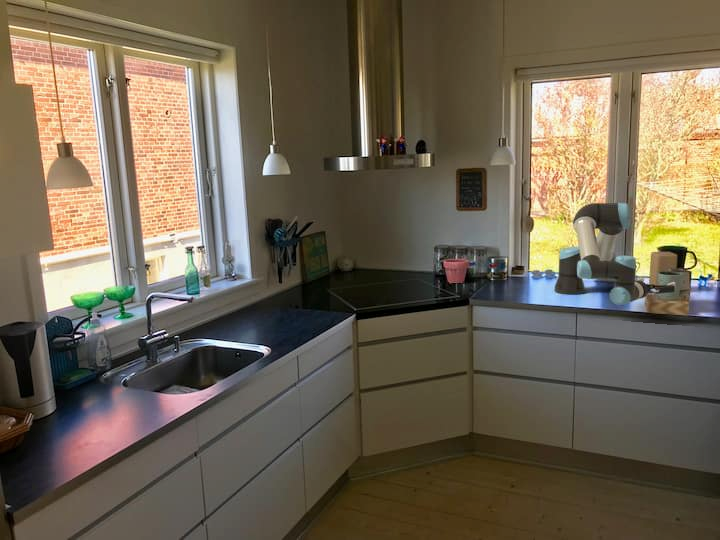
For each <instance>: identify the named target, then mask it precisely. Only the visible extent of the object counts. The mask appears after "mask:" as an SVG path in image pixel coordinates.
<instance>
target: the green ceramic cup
mask: <svg viewBox="0 0 720 540" xmlns="http://www.w3.org/2000/svg"><path fill="white" fill-rule="evenodd" d="M682 275H683V274H682V273H679V272H673V271H660V272H658V285H667V284H670V283H672V282H675V289H674V292H670V293H659V294H656V295H657V298H658V299H660V300H664V301H677V300H679V292H680V286H681V280H682Z"/></svg>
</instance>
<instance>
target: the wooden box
mask: <svg viewBox="0 0 720 540" xmlns="http://www.w3.org/2000/svg"><path fill="white" fill-rule="evenodd" d="M644 306H646V307H645V309H646V308H647V309H646V311H647V313H648V314H661V315H675V316H676V315H677V316H678V315H679V316H689V314H690V313H689V312H690V303H688V302H687V300H686V299H685V298H684V296H679V300H677V301H664V300H660V299H658V298H657V294H651V293H648V294H647V295H646V296H645V297H644Z"/></svg>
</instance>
